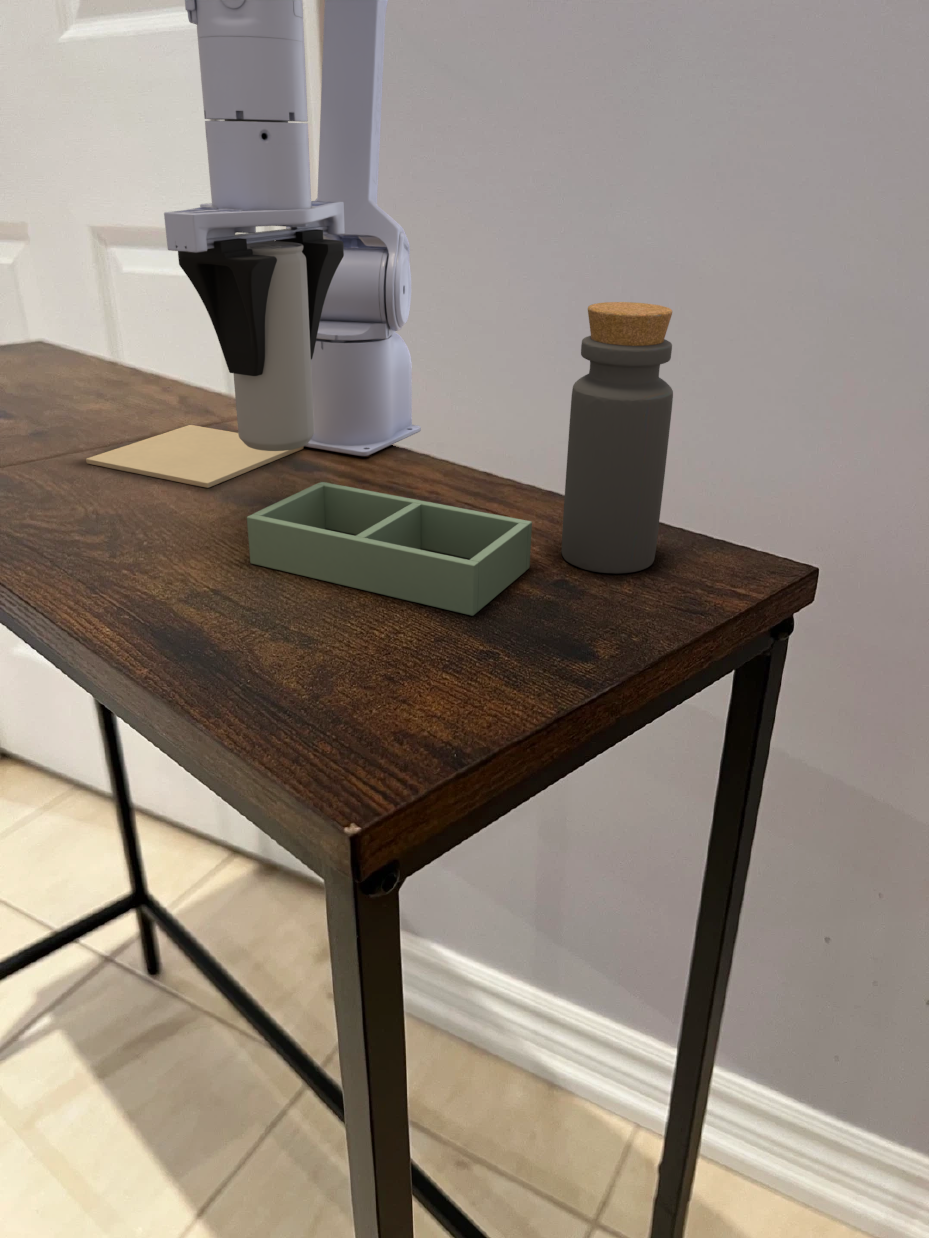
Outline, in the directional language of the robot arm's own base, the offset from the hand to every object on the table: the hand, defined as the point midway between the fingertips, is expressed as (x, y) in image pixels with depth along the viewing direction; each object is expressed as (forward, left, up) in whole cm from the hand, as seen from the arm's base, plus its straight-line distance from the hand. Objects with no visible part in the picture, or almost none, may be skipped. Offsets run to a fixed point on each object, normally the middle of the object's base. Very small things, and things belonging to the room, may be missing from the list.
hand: (272, 365), depth 62 cm
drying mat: (-9, -15, -10) cm, 20 cm away
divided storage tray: (+3, +10, -10) cm, 15 cm away
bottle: (-5, +21, -11) cm, 24 cm away
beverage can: (0, 0, -5) cm, 5 cm away
